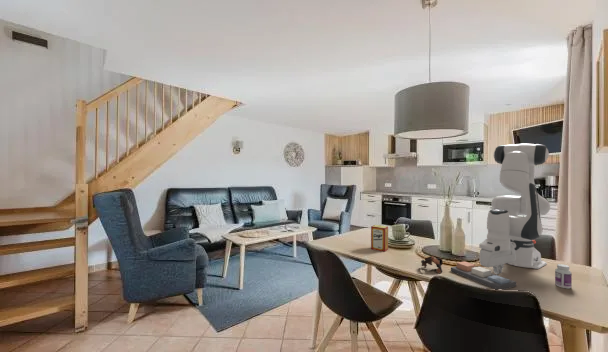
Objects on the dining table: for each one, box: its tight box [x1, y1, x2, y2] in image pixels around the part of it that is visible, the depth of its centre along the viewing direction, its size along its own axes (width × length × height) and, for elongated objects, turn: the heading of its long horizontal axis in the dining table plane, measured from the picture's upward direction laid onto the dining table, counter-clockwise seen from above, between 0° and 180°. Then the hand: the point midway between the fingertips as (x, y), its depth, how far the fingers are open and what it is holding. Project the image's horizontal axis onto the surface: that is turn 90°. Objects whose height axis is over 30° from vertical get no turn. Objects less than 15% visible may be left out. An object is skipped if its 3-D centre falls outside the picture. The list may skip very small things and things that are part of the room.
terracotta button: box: [456, 260, 476, 272], centre depth 135 cm, size 6×6×3 cm
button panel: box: [450, 265, 517, 290], centre depth 127 cm, size 12×24×2 cm, turn 22°
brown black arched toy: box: [420, 255, 444, 274], centre depth 139 cm, size 12×10×8 cm
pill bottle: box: [554, 263, 573, 289], centre depth 118 cm, size 5×5×10 cm
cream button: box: [472, 265, 492, 278], centre depth 127 cm, size 6×6×3 cm
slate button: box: [488, 274, 509, 284], centre depth 120 cm, size 6×6×3 cm
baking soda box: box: [370, 224, 389, 252], centre depth 175 cm, size 10×6×16 cm
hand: (497, 273), depth 120 cm, fingers closed
